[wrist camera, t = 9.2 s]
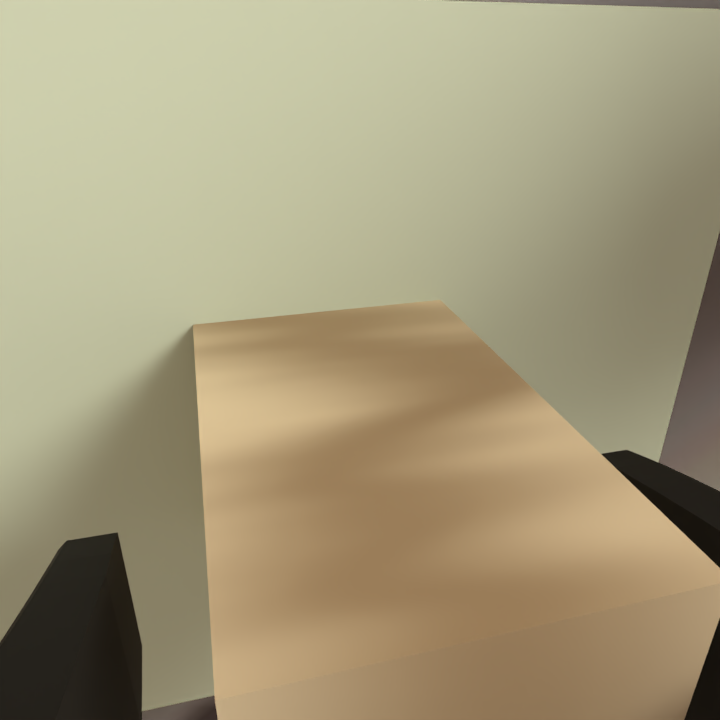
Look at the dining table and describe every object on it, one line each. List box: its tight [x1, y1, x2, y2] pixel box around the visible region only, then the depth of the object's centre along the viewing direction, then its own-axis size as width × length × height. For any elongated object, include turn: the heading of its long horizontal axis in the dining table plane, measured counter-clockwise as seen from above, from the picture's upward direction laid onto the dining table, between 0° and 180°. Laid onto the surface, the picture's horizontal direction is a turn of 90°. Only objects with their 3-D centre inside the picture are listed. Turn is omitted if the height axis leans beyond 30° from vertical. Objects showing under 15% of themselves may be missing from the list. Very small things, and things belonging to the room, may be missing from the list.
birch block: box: [193, 300, 720, 720], centre depth 9 cm, size 4×4×7 cm
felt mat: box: [0, 0, 720, 711], centre depth 12 cm, size 16×14×1 cm
